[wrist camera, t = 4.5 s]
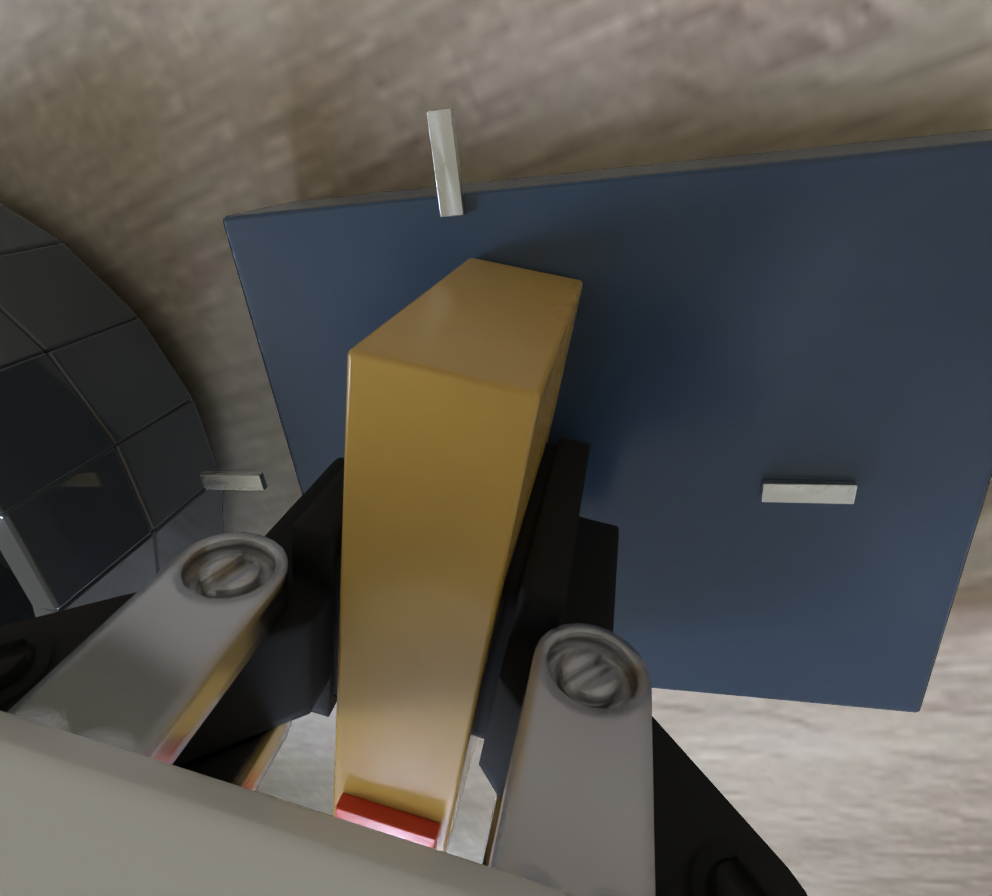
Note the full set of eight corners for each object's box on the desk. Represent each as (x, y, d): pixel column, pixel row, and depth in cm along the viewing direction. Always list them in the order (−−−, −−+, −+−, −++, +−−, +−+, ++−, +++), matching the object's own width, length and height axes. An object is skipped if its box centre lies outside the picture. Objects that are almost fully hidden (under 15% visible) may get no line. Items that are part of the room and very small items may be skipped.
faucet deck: (1013, 44, 9) (1147, 13, 6) (868, 657, 14) (912, 759, 12) (187, 151, 12) (80, 157, 10) (327, 616, 17) (280, 690, 15)
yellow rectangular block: (469, 256, 9) (333, 358, 5) (584, 279, 9) (537, 405, 5) (422, 625, 13) (324, 848, 9) (502, 647, 13) (438, 885, 9)
